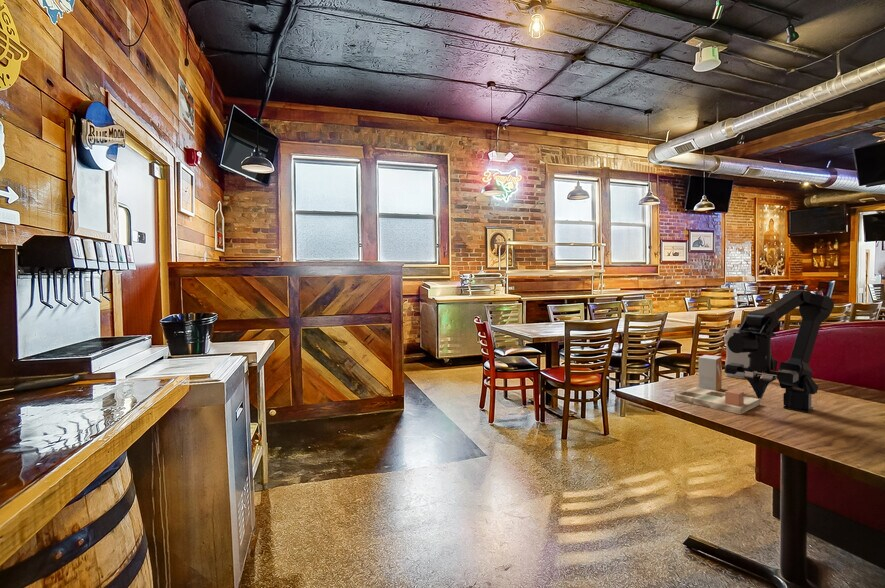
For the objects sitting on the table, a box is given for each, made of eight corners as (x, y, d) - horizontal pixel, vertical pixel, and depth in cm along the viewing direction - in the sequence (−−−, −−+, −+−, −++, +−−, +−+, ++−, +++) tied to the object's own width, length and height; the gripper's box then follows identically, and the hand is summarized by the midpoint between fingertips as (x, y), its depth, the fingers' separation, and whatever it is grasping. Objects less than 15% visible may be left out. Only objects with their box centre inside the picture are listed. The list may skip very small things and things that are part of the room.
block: (743, 403, 145) (743, 391, 145) (738, 405, 143) (738, 394, 143) (730, 400, 148) (730, 389, 148) (725, 403, 146) (725, 391, 146)
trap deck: (759, 404, 150) (759, 399, 149) (740, 414, 140) (740, 408, 140) (695, 392, 167) (695, 387, 167) (674, 399, 158) (674, 394, 158)
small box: (716, 392, 165) (716, 359, 165) (698, 389, 170) (698, 357, 169) (722, 388, 171) (722, 356, 170) (704, 385, 176) (704, 354, 175)
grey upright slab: (752, 377, 187) (753, 327, 186) (754, 379, 183) (754, 328, 182) (723, 375, 192) (724, 326, 191) (724, 377, 188) (724, 327, 187)
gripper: (804, 351, 136) (804, 399, 137) (737, 344, 151) (737, 388, 152) (792, 356, 130) (792, 407, 130) (723, 348, 145) (723, 394, 146)
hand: (759, 398), depth 140 cm, fingers closed
